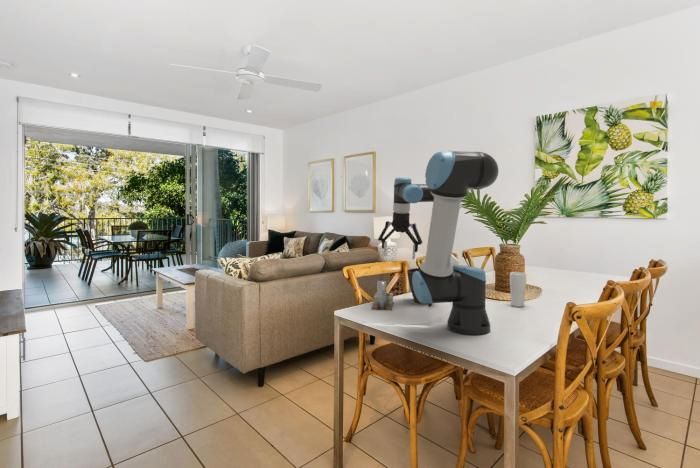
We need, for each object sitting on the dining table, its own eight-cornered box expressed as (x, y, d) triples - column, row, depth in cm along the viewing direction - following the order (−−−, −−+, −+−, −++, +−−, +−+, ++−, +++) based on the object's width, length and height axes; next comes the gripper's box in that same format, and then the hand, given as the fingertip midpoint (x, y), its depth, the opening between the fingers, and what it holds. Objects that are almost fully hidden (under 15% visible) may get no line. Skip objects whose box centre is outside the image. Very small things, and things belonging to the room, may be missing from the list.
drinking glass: (517, 303, 171) (518, 271, 170) (529, 306, 164) (529, 273, 163) (506, 304, 169) (506, 272, 168) (517, 308, 162) (517, 274, 161)
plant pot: (421, 310, 161) (421, 274, 160) (400, 303, 174) (400, 269, 173) (446, 305, 169) (446, 271, 168) (424, 299, 182) (424, 266, 180)
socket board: (391, 313, 158) (391, 301, 157) (371, 312, 159) (370, 300, 159) (394, 304, 172) (394, 293, 172) (375, 303, 174) (374, 292, 174)
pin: (386, 310, 158) (385, 282, 157) (376, 309, 159) (376, 282, 158) (386, 307, 162) (386, 280, 161) (377, 307, 163) (377, 280, 162)
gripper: (430, 212, 166) (427, 257, 170) (377, 208, 174) (375, 251, 179) (427, 215, 159) (424, 262, 164) (372, 211, 167) (371, 255, 172)
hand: (399, 256), depth 171 cm, fingers open, 13 cm apart
